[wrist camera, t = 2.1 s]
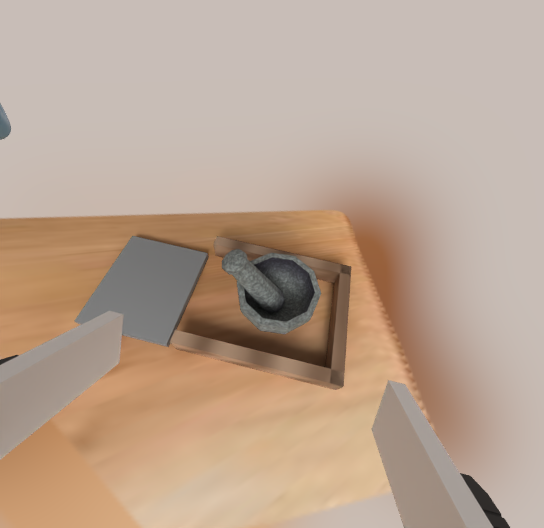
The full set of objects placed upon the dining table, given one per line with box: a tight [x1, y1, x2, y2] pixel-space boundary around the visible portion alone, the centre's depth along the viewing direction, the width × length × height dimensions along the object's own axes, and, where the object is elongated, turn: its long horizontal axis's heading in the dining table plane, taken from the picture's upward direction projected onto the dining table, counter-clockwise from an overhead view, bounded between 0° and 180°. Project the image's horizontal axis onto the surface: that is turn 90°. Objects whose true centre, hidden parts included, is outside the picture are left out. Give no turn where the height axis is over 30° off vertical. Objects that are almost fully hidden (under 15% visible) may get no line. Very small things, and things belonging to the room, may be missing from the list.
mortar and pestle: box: [222, 249, 321, 334], centre depth 30 cm, size 11×9×12 cm
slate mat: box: [75, 236, 208, 347], centre depth 35 cm, size 12×14×1 cm
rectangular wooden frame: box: [170, 236, 351, 390], centre depth 34 cm, size 20×16×3 cm
